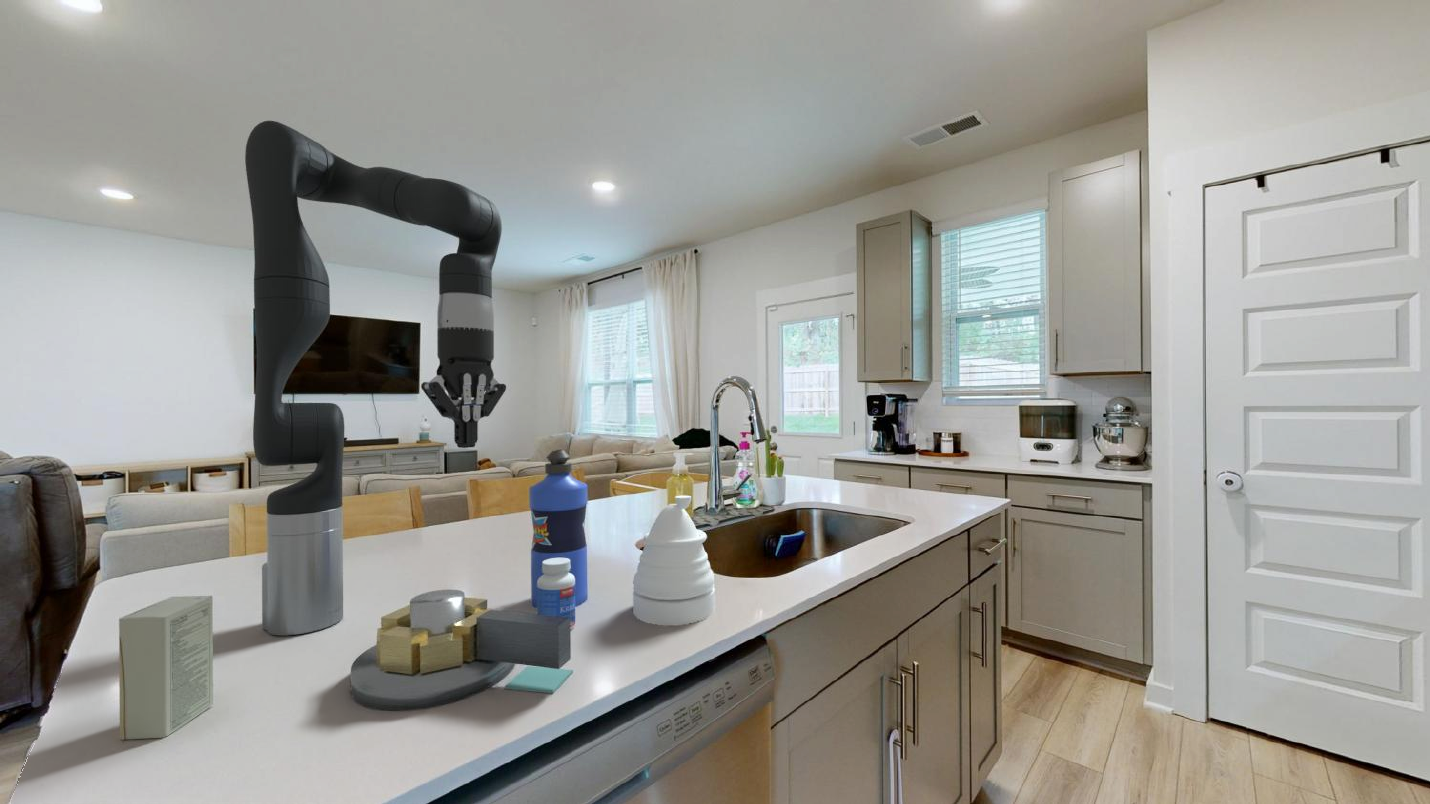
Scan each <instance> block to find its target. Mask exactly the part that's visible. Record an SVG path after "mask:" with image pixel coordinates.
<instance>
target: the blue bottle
mask: <svg viewBox="0 0 1430 804" xmlns="http://www.w3.org/2000/svg"><path fill="white" fill-rule="evenodd" d="M545 458H546V459H547V460H548V461H549V462H548V463H547V462H546V463H545V464H544V465H545V466H544V467H545V468H544V470H545V471H544V472H545V474H546V476H545V477H544V478H543V479H542V480H540V481H539V482H536V483H535V484H533V485H531V486H530V487H529V491H528V492H529V493H528V495H529V496H528V498H529V500H528V501H529V508H530V513H531V521H532V530H533V534H532V542H531V549H530V584H531V585H530V589H531V590H530V595H531V597H530V600H531V601H530V603H531V606H532V607H533V608H535V609H537V581H538V579H539V578H540V577H541V576H542V575H544V573H543V572H542V562H543V561H544V560H547V559H551V558H568V559H570V565H571V568H570V571H569V573H571V574H572V575H573V576H574V577H575V608H576V607H578V605H579V606H580V605H582V603H583V604H584V603H586V602H587V601H588V599H589V597H588V591H589V590H588V545H587V540H586V532H585V524H586V514H587V505H588V484H587V483H585V482H582V481H580V480H578V479H576V478H574V477H573V476H572V474H571V473H572V472H573V471H572V462H568V461H569V459H570V458H571V456H570V455H569V454H568V453H567V452H566V451H565V449H553V450H551V452H549V454H548V455H547V456H546V457H545ZM587 598H588V599H587ZM586 600H587V601H586ZM585 601H586V602H585Z"/></svg>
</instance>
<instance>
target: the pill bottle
mask: <svg viewBox="0 0 1430 804" xmlns="http://www.w3.org/2000/svg"><path fill="white" fill-rule="evenodd" d="M570 568H571V565H570V559H568V558H551V559H547V560H544V561H543V562H542V572H543V573H544V575H542V576H541V577H540V578H539V579H538V581H537V608H536V614H538V615H548V616H558V617H568V618H570V631H571V630H572V629H574V627H575V625H576V607H575V577H574V576H573V575H572V574H571V573H569V571H570Z"/></svg>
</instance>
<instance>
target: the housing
mask: <svg viewBox="0 0 1430 804" xmlns="http://www.w3.org/2000/svg"><path fill="white" fill-rule="evenodd" d="M409 605H410V628H417V629H426V630H428V637H432V636H438V635H443V634H448V633H453V625H454V624H456V623H458V622H460V621H462V620H463V619H465V592H464V591H462V590H459V589H439V590H432V591H428V592H423V593H420V594H418V595H415V596H414V597H412V598H411V599H410V601H409ZM515 666H516V664H515V663H507V662H499V661H491V660H483V659H477V658H475V659H474V660H472V661H471V662H469V661H463V665H459V666H454V667H450V668H445V669H440V670H436V671H431V672H426V673H422V674H420V670H418V671H416V672H415V673H413V674H405V673H398V672H391V671H384V670H380V667H378V668H377V644H375V645H373V646H371V647H370V648H368V649H366V650H365V651H364V652H362V653H361V654H360V655H359V656H357V657H356V658H355V660H354V661H353V662H352V664H351V666H350V667H351V668H350V694H351V697H352V699H353V701H355V702H356V703H357V704H359V705H361V706H362V707H365V708H368V709H372V710H378V711H389V712H391V711H392V712H397V711H399V712H400V711H401V712H402V711H414V710H415V711H416V710H423V709H429V708H434V707H439V706H443V705H446V704H447V705H448V704H451V703H454V702H458V701H460V700H463V699H467V698H469V697H472V696H475V695H478V694H479V693H481V692H483V691H486V690H487V689H490V688H491V687H494V686H495V685H497V684H498V683H499V682H500V681H502V680H504V679H505V678H506V677H507V676H508V675H509V674H510V673H511V672H512V670H514V668H515Z"/></svg>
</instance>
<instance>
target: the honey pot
mask: <svg viewBox="0 0 1430 804" xmlns="http://www.w3.org/2000/svg"><path fill="white" fill-rule="evenodd" d="M674 500H675V501H674V502H675V503H668V505H666V506H665V507H664V508H663V509H662V510H661V511H660V512H659V514H658V515H657V517H656V518H655V520H654V522H653V523H652V526H651V529H650V530H649V531H648V532H647V533H646V534H644V535H643V541H644V543H645V544H644V547H643V549H642V553H641V554H640V555H639V562H638V564H637V568H636V573H634V576H633V581H632V584H633V587H632V589H633V592H632V595H633V596H632V606H633V611H632V614H633V613H634V614H633V615H634V617H635V616H636V617H637V618H636V617H635V618H636V619H637V620H639V619H640V620H639V621H641V620H642V621H641V622H643V621H644V623H646V622H647V623H646V624H650V623H652V624H651V625H655V624H657V626H667V625H673V626H684V624H685V625H690V624H689V623H692V624H695V623H698V622H697V621H699V622H701V620H702V621H703V619H704V620H706V619H708V618H707V617H709V616H710V615H711V614H712V615H714V613H715V611H716V592H715V591H716V589H715V575H714V571H713V570H712V569H711V564H710V561H709V560H708V559H709V557H708V556H709V555H708V553H707V552H706V550H705V548H704V544H703V543H705V541H706V540H707V539H708V535H707V534H706V532H704V531H703V530H701V529H697V528H696V526H695V525H696V524H695V523H694V521H693V520H692V518H691V516H690V515H689V513H688V512H687V511H686V509H688V507H689V506H690V504H691V503H692V502H691V501H692V495H685V494H684V495H683V494H682V495H676V496H674ZM712 615H711V616H712ZM711 616H710V617H711ZM710 617H709V618H710ZM705 618H706V619H705ZM694 622H695V623H694Z"/></svg>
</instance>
